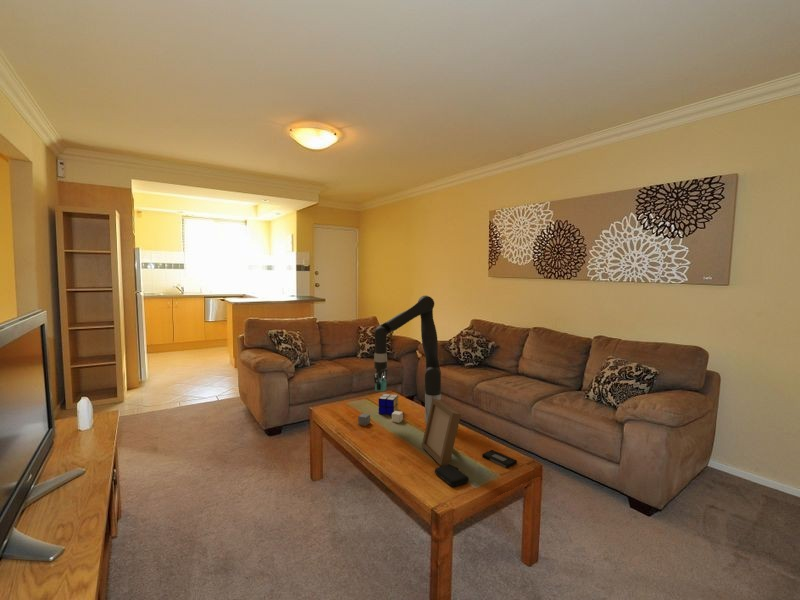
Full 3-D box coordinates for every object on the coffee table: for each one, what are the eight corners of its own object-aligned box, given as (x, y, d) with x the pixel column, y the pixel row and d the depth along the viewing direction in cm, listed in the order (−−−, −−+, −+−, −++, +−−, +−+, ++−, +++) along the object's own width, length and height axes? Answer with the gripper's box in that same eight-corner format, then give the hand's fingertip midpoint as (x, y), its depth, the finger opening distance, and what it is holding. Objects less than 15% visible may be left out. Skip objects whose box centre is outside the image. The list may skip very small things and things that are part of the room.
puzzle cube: (378, 414, 248) (378, 398, 248) (383, 408, 258) (383, 393, 257) (393, 415, 245) (393, 399, 245) (398, 410, 255) (398, 395, 254)
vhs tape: (506, 469, 180) (506, 465, 180) (482, 458, 191) (482, 454, 191) (516, 464, 185) (516, 460, 185) (491, 453, 196) (491, 449, 196)
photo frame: (440, 467, 181) (441, 414, 179) (421, 447, 201) (422, 399, 199) (469, 462, 186) (470, 410, 184) (447, 443, 206) (448, 396, 204)
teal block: (386, 389, 235) (386, 380, 234) (382, 391, 230) (382, 383, 230) (378, 388, 237) (378, 379, 236) (375, 390, 232) (375, 382, 232)
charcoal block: (369, 422, 234) (369, 414, 234) (365, 425, 229) (365, 417, 229) (362, 421, 236) (362, 413, 236) (358, 424, 231) (358, 416, 231)
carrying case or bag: (472, 483, 168) (452, 467, 181) (473, 476, 168) (452, 461, 181) (452, 489, 163) (432, 473, 176) (452, 482, 163) (432, 467, 176)
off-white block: (402, 420, 238) (402, 411, 238) (399, 422, 234) (399, 414, 234) (395, 418, 241) (395, 410, 240) (391, 421, 236) (391, 413, 236)
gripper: (381, 363, 224) (381, 392, 225) (391, 358, 237) (391, 386, 238) (369, 362, 227) (369, 391, 228) (380, 357, 240) (380, 384, 241)
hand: (380, 388), depth 233 cm, fingers closed on teal block, 5 cm apart
